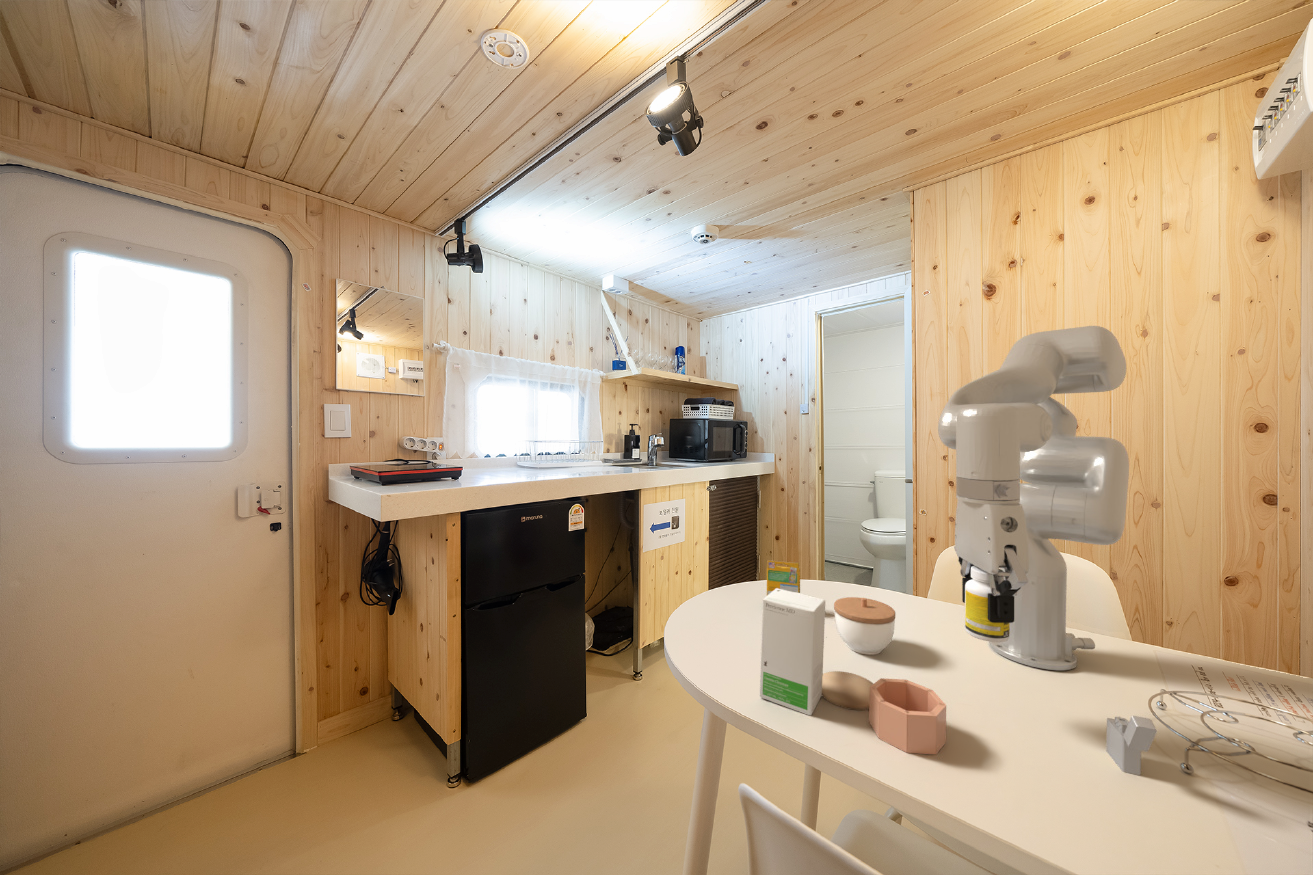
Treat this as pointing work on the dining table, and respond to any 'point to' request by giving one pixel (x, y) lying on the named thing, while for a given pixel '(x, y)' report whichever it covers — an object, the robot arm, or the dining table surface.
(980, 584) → the supplement bottle
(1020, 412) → the robot arm
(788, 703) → the skincare box
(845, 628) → the lidded jar
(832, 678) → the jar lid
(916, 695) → the terracotta octagonal planter pot
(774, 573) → the crayon box
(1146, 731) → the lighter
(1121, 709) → the dining table surface
